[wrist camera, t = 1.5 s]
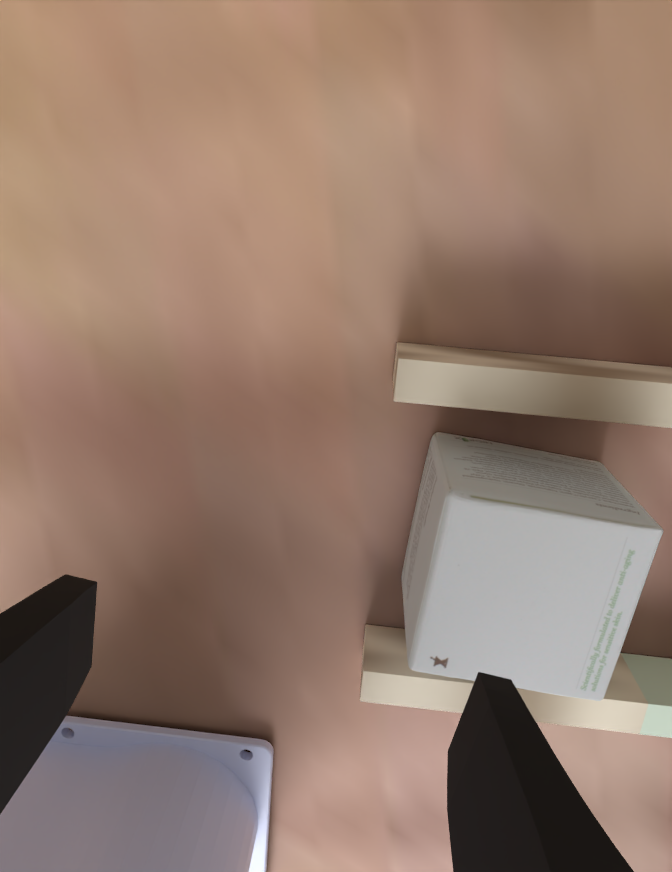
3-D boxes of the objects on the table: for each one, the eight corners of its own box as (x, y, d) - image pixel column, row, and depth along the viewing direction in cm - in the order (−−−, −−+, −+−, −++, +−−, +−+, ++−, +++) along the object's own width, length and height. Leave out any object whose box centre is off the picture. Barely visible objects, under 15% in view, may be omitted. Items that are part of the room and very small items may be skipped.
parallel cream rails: (362, 652, 23) (359, 701, 21) (396, 342, 19) (398, 358, 17) (784, 700, 22) (832, 756, 20) (903, 388, 19) (978, 412, 16)
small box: (559, 608, 22) (606, 710, 17) (396, 579, 22) (400, 673, 17) (607, 457, 20) (674, 527, 16) (430, 426, 20) (443, 486, 16)
